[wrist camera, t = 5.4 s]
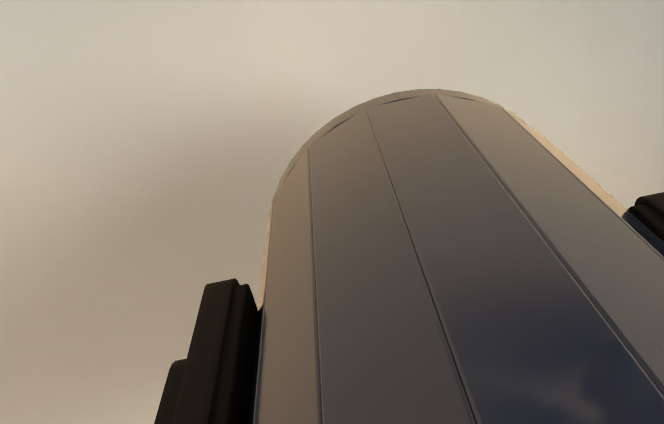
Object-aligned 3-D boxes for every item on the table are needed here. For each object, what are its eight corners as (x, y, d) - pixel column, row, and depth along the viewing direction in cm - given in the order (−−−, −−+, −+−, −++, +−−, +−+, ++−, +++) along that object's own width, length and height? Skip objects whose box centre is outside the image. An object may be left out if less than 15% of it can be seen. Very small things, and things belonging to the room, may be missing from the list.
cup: (561, 55, 11) (1480, 541, 3) (564, 319, 15) (980, 949, 6) (231, 126, 12) (25, 778, 3) (304, 369, 15) (314, 1041, 6)
